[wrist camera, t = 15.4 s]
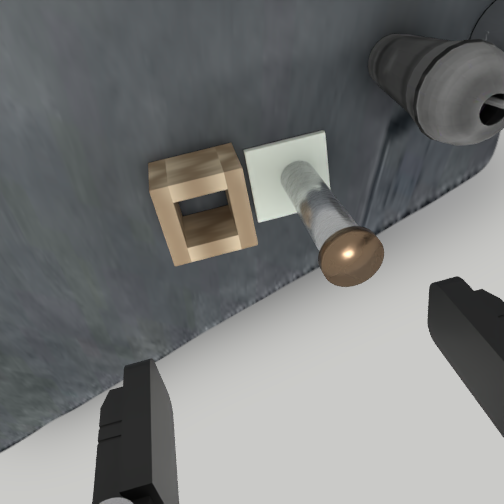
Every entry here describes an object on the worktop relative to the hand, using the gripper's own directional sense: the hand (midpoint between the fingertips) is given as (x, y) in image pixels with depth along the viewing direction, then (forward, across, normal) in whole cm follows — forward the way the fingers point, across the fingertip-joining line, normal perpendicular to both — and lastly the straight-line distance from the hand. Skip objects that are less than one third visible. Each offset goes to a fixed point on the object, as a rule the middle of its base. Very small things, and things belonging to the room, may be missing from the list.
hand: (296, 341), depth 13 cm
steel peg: (+32, -8, +12) cm, 36 cm away
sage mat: (+33, -7, +12) cm, 36 cm away
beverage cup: (+33, -18, +3) cm, 38 cm away
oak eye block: (+33, +2, +11) cm, 35 cm away
